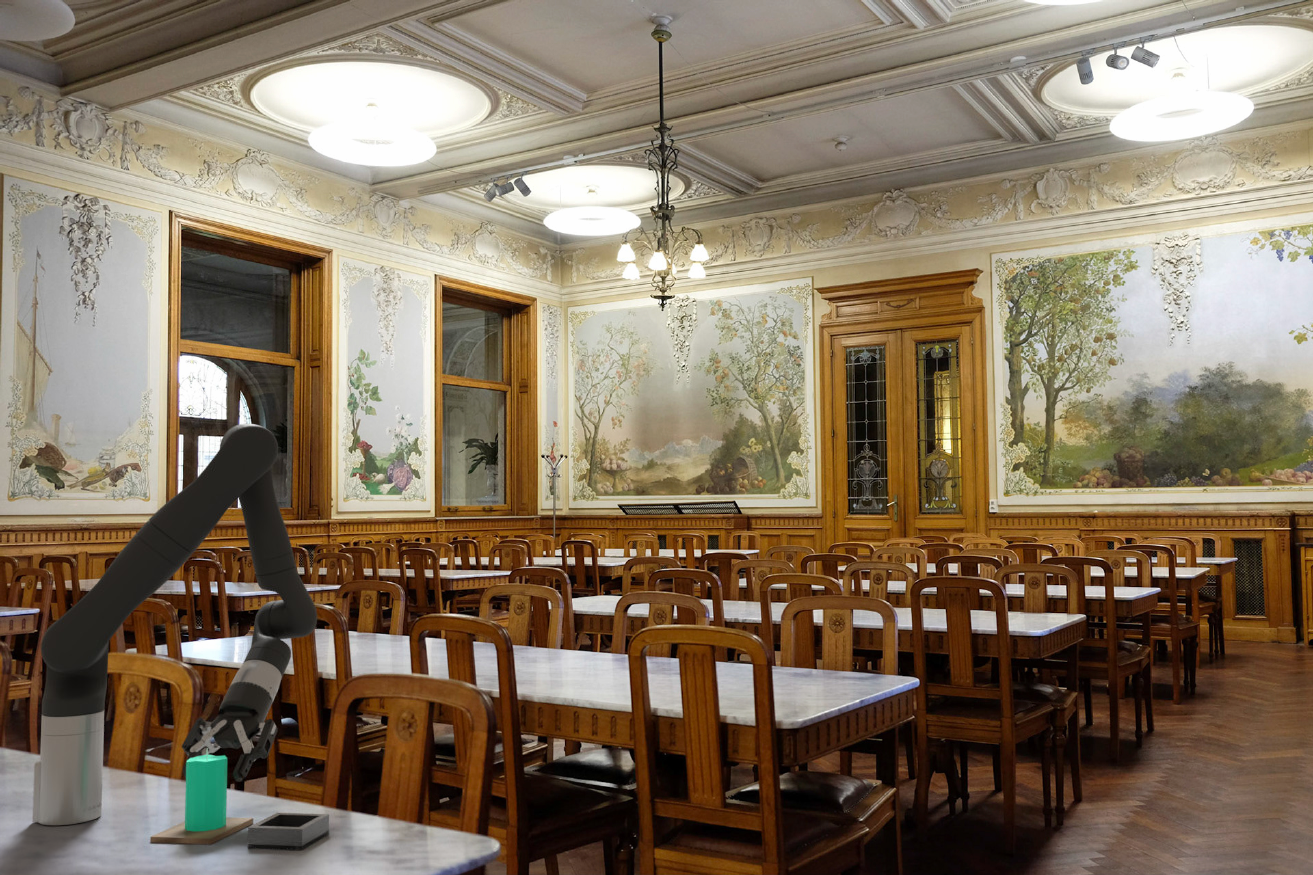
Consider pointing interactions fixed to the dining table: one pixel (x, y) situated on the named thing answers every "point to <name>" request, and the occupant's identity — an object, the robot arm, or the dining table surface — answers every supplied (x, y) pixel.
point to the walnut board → (201, 832)
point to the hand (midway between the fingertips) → (212, 777)
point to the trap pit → (288, 831)
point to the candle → (206, 793)
